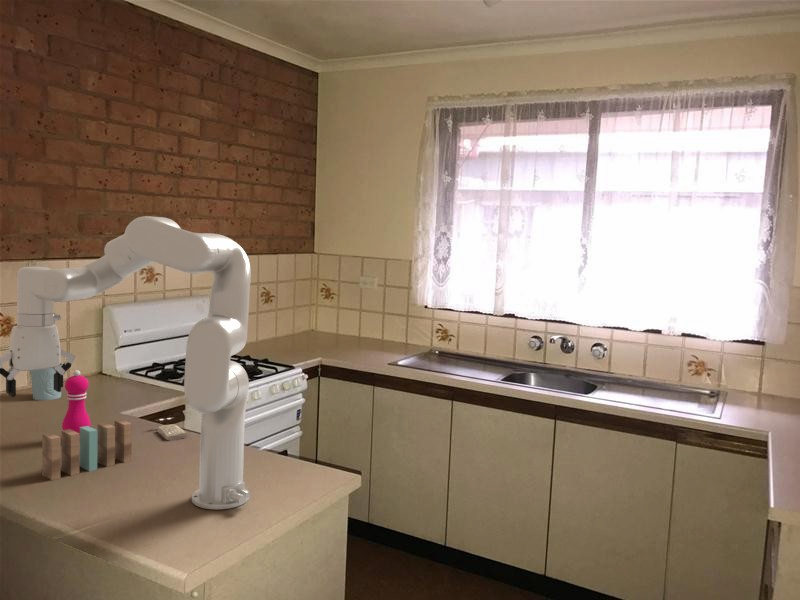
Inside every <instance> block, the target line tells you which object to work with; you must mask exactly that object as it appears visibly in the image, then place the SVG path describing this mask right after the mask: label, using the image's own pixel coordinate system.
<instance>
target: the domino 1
mask: <svg viewBox="0 0 800 600" xmlns="http://www.w3.org/2000/svg"><path fill="white" fill-rule="evenodd" d="M41 436H42V442H41V443H42V445H41V446H42V447H41V449H42V450H41V451H42V453H41V454H42V456H41V458H42V461H41V462H42V463H41V464H42V465H41V466H42V467H41V469H42V473H41V475H42V476H43V477H45V478H47V479H49V480H51V481H55V480H59V479H61V472H62V471H61V444H62V436H59V435H57V434H55V433H52V432H49V433H43V434H42V435H41Z"/></svg>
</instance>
